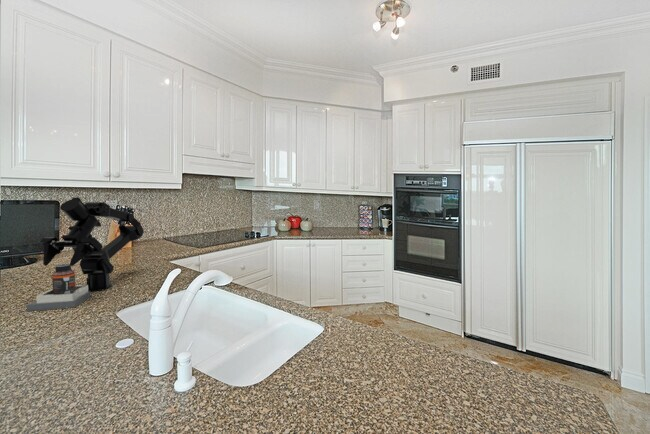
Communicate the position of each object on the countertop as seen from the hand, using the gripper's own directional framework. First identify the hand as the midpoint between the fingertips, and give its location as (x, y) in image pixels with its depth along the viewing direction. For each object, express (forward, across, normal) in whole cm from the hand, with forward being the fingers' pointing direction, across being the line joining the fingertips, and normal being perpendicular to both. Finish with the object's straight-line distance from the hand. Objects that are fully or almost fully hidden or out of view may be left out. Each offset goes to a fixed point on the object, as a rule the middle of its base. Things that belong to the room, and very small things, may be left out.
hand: (57, 265), depth 102 cm
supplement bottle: (+7, 0, -10) cm, 12 cm away
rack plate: (+9, +1, -10) cm, 14 cm away
